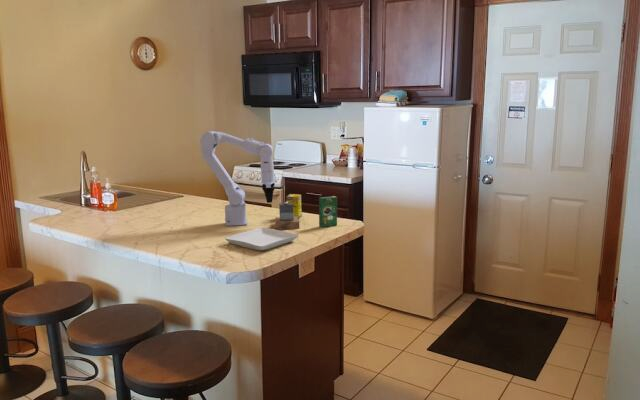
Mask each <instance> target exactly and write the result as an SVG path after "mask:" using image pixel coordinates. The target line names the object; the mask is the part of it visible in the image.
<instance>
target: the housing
mask: <svg viewBox="0 0 640 400" xmlns="http://www.w3.org/2000/svg"><path fill="white" fill-rule="evenodd" d="M278 209H279V210H278V211H279V213H278V214H279V217H280V221H290V220H294V216H293V203H288V202H286V201H284V202H282V203H278Z"/></svg>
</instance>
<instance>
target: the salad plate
mask: <svg viewBox="0 0 640 400" xmlns="http://www.w3.org/2000/svg"><path fill="white" fill-rule="evenodd" d="M298 237H299V234H296V233H293V232H288V231H283V230H280V229H274V228H268V227H259V228H256V229H251V230H248V231H244V232H240V233H237V234H233V235H231V236H230V235H229V236H227V237H225V238H224V239H225V241H227V242H229V243H230V244H233V245H236V246H239V247H242V248H247V249H250V250H251V249H252V250H254V251H255V250H256V251H268V250H271V249H274V248H276V247H279V246H283V245H285V244H288V243H290V242H293V241H295V240H296V239H297V238H298Z"/></svg>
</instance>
